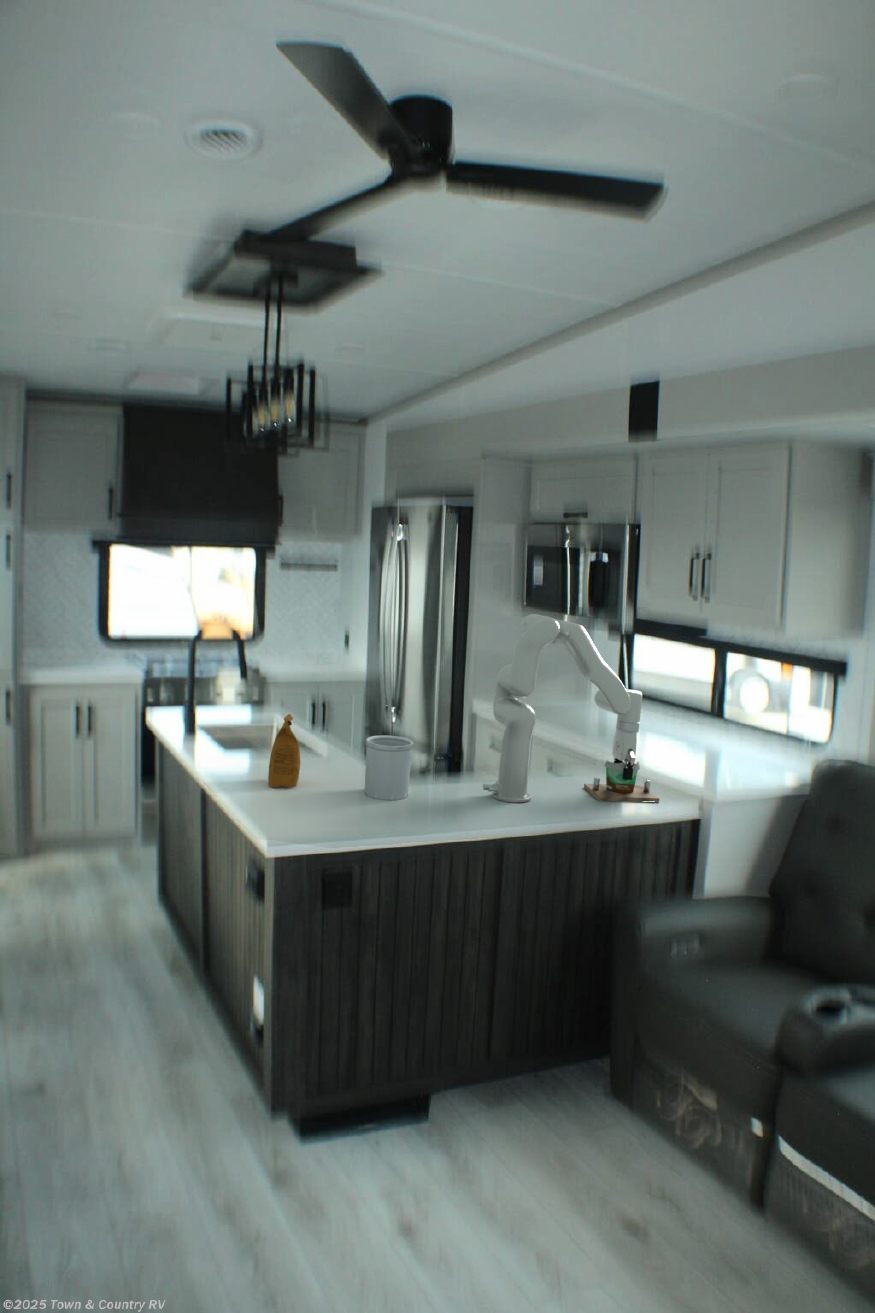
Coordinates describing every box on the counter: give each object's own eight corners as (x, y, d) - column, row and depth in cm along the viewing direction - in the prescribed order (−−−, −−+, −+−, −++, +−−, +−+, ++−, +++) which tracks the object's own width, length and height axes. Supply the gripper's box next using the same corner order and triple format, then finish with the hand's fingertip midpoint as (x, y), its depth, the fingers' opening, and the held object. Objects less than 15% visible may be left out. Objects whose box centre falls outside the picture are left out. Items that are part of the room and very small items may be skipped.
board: (598, 800, 328) (600, 784, 327) (583, 787, 343) (585, 772, 343) (658, 802, 331) (660, 786, 330) (641, 790, 347) (643, 774, 346)
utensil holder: (403, 803, 306) (407, 747, 304) (356, 797, 309) (360, 742, 307) (414, 791, 321) (418, 738, 319) (369, 786, 324) (373, 733, 321)
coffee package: (301, 780, 324) (305, 714, 321) (297, 790, 312) (301, 721, 309) (270, 778, 323) (274, 712, 321) (265, 788, 311) (269, 719, 308)
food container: (608, 793, 331) (611, 764, 330) (602, 789, 337) (604, 760, 336) (643, 794, 334) (646, 765, 332) (636, 790, 340) (639, 761, 338)
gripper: (608, 720, 342) (603, 769, 344) (625, 731, 325) (620, 782, 327) (629, 721, 343) (624, 770, 345) (647, 732, 326) (641, 783, 328)
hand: (622, 776), depth 336 cm, fingers open, 9 cm apart
